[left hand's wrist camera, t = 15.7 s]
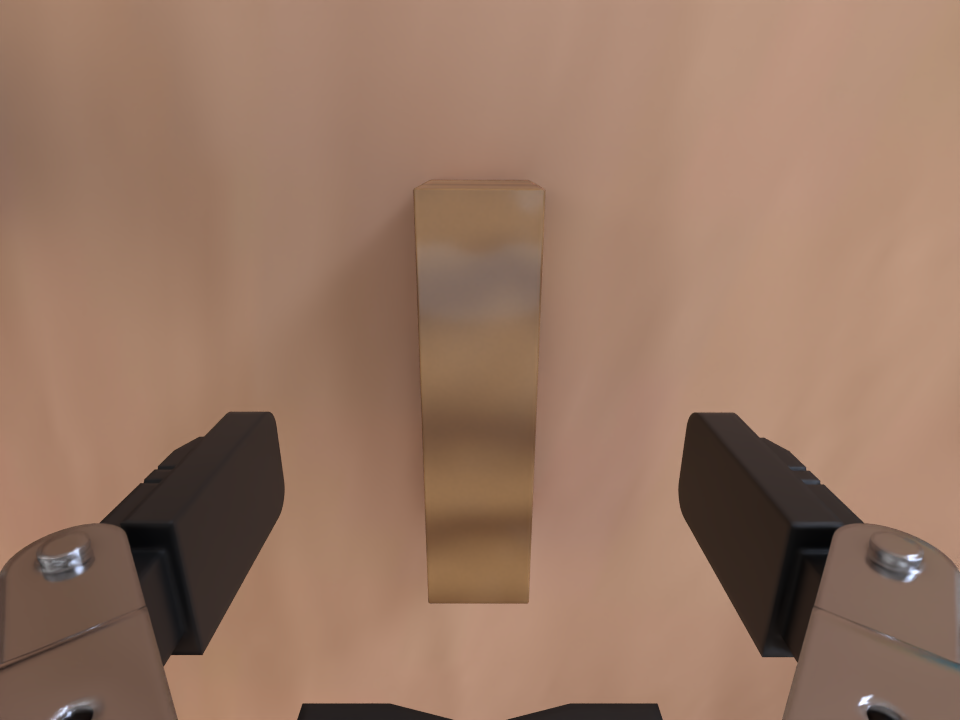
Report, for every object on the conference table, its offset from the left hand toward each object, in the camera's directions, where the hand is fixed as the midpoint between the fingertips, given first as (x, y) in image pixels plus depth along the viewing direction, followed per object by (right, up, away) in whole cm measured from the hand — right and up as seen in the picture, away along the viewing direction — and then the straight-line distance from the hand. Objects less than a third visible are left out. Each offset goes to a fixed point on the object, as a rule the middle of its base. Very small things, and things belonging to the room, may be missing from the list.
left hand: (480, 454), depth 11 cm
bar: (0, +1, +26) cm, 26 cm away
